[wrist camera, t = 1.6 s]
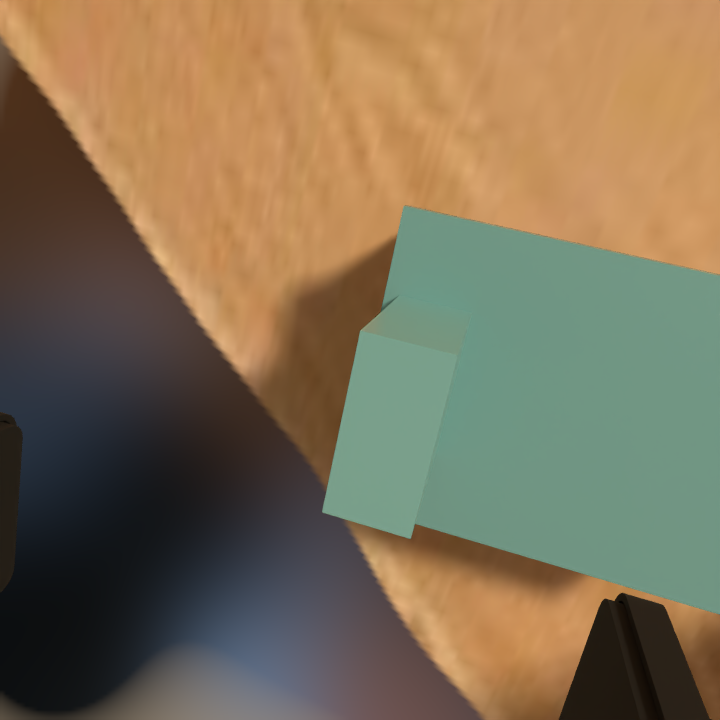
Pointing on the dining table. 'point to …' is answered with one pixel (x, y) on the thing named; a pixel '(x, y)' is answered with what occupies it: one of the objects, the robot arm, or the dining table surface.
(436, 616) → the dining table surface
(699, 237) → the dining table surface
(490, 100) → the dining table surface
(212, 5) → the dining table surface
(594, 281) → the lid
